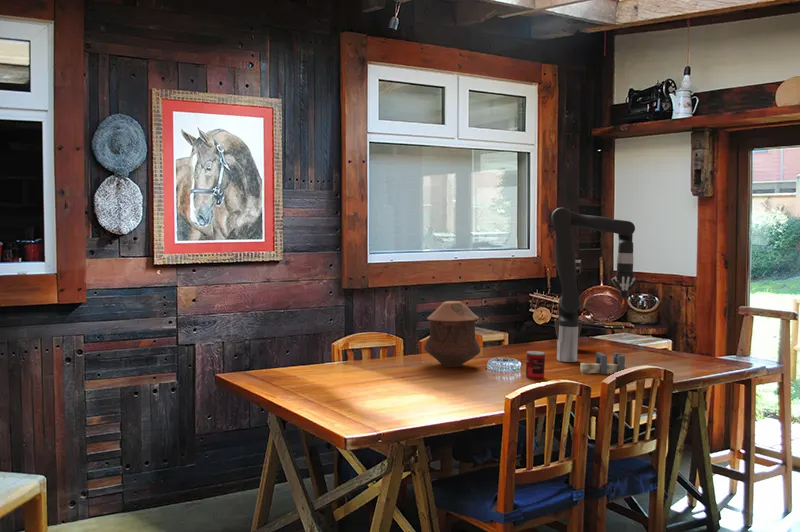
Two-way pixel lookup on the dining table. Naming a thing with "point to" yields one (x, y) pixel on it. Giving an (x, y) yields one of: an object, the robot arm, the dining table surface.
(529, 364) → the canned food
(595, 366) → the ash bar
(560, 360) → the robot arm
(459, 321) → the pottery vessel
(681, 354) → the dining table surface
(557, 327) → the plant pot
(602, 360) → the iron collars
